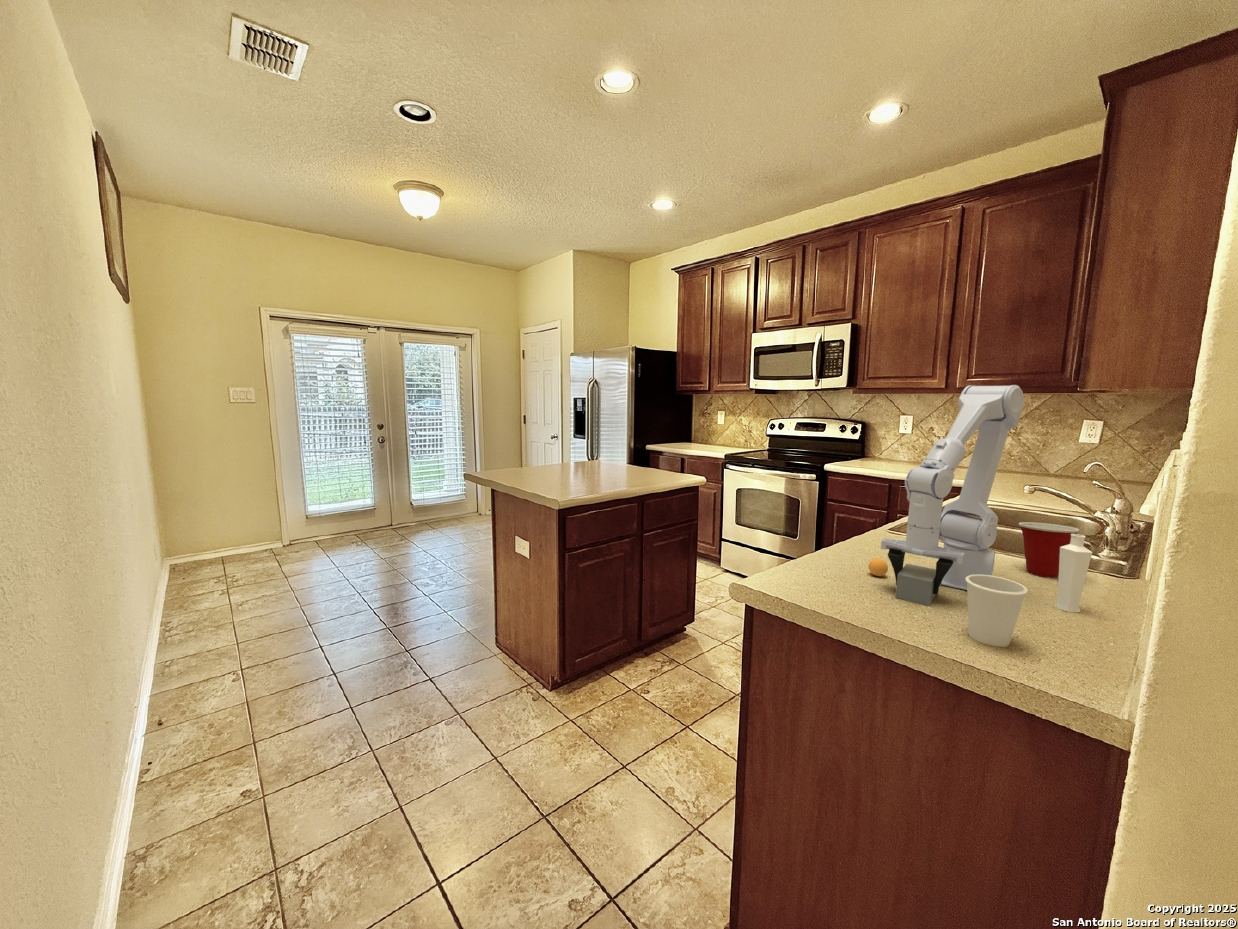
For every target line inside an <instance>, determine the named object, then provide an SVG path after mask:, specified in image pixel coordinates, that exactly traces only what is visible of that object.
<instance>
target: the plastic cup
mask: <svg viewBox="0 0 1238 929" xmlns="http://www.w3.org/2000/svg"><path fill="white" fill-rule="evenodd" d="M1018 526H1019V527H1020V529H1021V532H1022V537H1023V538H1022V539H1023V547H1024V548H1023V549H1024V558H1025V568H1026V572H1027V571H1028V572H1027V573H1029V574H1031V575H1034V576H1037V577H1042V578H1048V577H1056V578H1059V558H1060V547H1062V546H1065V545H1068V544H1070V541H1071V534H1078V533H1079V532H1080V528H1077V527H1074V526H1068V525H1061V524H1054V523H1045V522H1032V521H1031V522H1030V521H1028V522H1027V521H1026V522H1025V521H1021V522H1018Z"/></svg>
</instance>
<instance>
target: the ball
mask: <svg viewBox="0 0 1238 929" xmlns="http://www.w3.org/2000/svg"><path fill="white" fill-rule="evenodd" d="M888 570H889V566H888V563H887V562H886V561H885V560H884V559H882V558H873V559H871V560H870V561H869V563H868V571H869V572H870V573H871V574H872V575H873V576H875V577H876V576H877V577H882V576H885V575H886V574H887V573H888Z"/></svg>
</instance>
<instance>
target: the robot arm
mask: <svg viewBox="0 0 1238 929" xmlns="http://www.w3.org/2000/svg"><path fill="white" fill-rule="evenodd" d="M1024 404H1025V398H1024V393H1023V390H1022V389H1021V387H1020V386H1019V385H1017V384H1011V385H974V384H973V385H971V384H969V385H967V386H966V387H964V388H963V390H962V391H961V393H960V395H959V398H958V409H959V412H958V414H957V416H956V418H955V419H954V421H953V424H952V425H951V427H950V429H949V431H948V433H947V434H946V436H945V438H939V439H937V440H936V441H935V443H934V444H933V446H932V447H931V449H930V450H929V451H928V453H927V455H926V456H925V457H924V459H923V461H922V462H921V463H920V465H919V466H916V467H914V468H911V469H910V470H909V471H908V473H907V475H906V477H905V479H904V487H905V490H906V494H907V495H906V499H907V501H908V502H909V505H908V513H907V514H908V515H907V525H906V534H905V535H906V536H905V540H900V539H899V540H898V539H891V538H885V537H884V538H882V539H881V542H880V549H881V550H885V551H886V550H888V552H887V557H888V560H889V562H890V564H891V566H892V569H893V572H894V578H895V585H896V586H897V576H898V573H899V572H900V571H901V570H902V569H903V567H904V562H905V555H906V553H907V554H910V555H911V554H912V555H916V556H921V557H927V558H933V559H935V560H936V559H937V561H936V562H935V569H936V576H935V583H934V588H933V594H935V596H936V595H938V594H939V590H940V587H941V585H942V586H944V587H945V586H946V587H951V588H955V589H960V590H964V591H967V581H966V577H967V576H969V575H976V574H980V575H991V576H993V572H994V565H995V557H996V556H995V555H996V551H995V550H992V549H988V548H990V547H991V546H993V544H994V543H995V541H996V539H997V536H998V535H997V534H998V521H999V517H998V516H997V514H996V513H995V512H994V511H993V510H992V509H991V508H990V506H988V501H989V498H990V494H991V492H992V488H993V485H994V484H993V483H994V481H995V478H996V475H997V472H998V468H999V464H1000V461H1001V458H1002V455H1003V451H1004V448H1005V445H1006V441H1007V439H1008V434H1009V431H1010V430H1012V429H1014V428H1017V426H1018V424H1019V421H1020V419H1021V414H1022V411H1023V409H1024ZM977 430H978V434H977V438H976V441H975V444H974V448H973V451H972V454H971V458H970V462H969V463H968V464H969V465H968V467H967V470H966V473H965V474H966V475H965V478H964V481H963V484H962V487H961V491H960V494H959V497H958V499H956V500H953V501H951V502H948V503H946V504H945V505H944V498H945V497H947V496H948V494H949V493H950V492H951V490H952V487H953V481H954V479H955V473H954V472H955V471H956V470H957V468H958V466H959V465H960V463H961V462H962V461H963V459H964V457H965V456H966V454H967V450H966V447H965V445H966V444H967V443H968V441H969V439H971V437H972V436H973V434H975V432H976V431H977ZM943 506H944V508H943ZM939 541H940V542H941V543H943V547H942V546H939Z"/></svg>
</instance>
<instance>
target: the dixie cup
mask: <svg viewBox="0 0 1238 929" xmlns="http://www.w3.org/2000/svg"><path fill="white" fill-rule="evenodd" d="M966 581H967V590H966V591H967V595H966V596H967V618H968V619H967V620H968V623H967V624H968V635H969V637H970V638H972V639H973V640H974V641H976V642H979V643H981V644H984V645H988V646H993V647H999V648H1001V647H1002V648H1003V647H1004V648H1005V647H1008V646H1010V643H1011V641H1012V638H1013V634H1014V630H1015V628H1016V624H1017V621H1018V618H1019V615H1020V611H1021V609H1022V606H1023V602H1024V598H1025V595H1026V594H1027V593H1028V591H1029V590H1028V588H1027V587H1026V586H1024V584H1021V583H1020V582H1017V581H1014V580H1012V579H1008V578H1004V577H1000V576H996V575H992V576H991V575H980V574H976V575H969V576H967V577H966Z"/></svg>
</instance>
